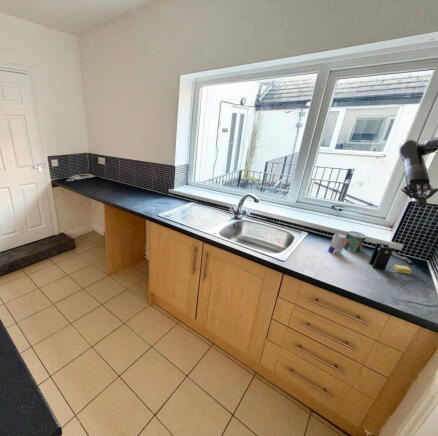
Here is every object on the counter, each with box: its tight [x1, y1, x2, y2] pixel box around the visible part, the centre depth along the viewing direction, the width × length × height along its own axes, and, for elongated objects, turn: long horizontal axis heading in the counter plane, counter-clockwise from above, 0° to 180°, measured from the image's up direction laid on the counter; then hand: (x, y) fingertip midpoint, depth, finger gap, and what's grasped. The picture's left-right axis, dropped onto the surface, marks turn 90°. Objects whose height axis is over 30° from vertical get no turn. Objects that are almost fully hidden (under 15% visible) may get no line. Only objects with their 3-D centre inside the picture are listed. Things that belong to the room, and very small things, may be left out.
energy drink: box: [327, 232, 347, 256], centre depth 129 cm, size 5×5×12 cm
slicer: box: [368, 242, 394, 274], centre depth 116 cm, size 10×8×13 cm
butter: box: [392, 264, 413, 275], centre depth 115 cm, size 5×4×3 cm
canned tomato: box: [342, 230, 367, 253], centre depth 133 cm, size 8×8×11 cm
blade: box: [378, 245, 415, 266], centre depth 114 cm, size 13×5×2 cm, turn 69°
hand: (422, 205), depth 112 cm, fingers closed
